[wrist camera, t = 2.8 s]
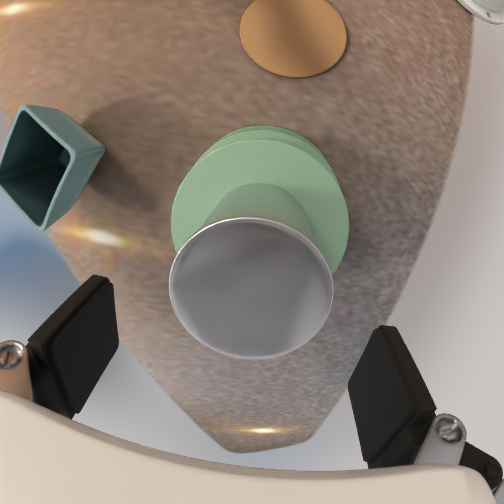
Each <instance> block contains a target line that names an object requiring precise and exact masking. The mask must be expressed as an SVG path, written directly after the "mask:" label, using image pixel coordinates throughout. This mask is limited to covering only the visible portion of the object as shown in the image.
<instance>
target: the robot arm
mask: <svg viewBox="0 0 504 504" xmlns="http://www.w3.org/2000/svg"><path fill="white" fill-rule="evenodd" d="M457 1H458V2H459V3H460V4H461V5H462V6H464V7H465V8H466V9H467V10H468V11H470V12H471V13H472V14H474V15H475V16H477V17H478V18H480V19H482V20H483V21H485V22H488V23H491V24H502V23H504V0H457ZM28 342H29V343H28V344H27V345H26V346H24V344H22V343H20V342H19V341H14V340H10V341H9V340H8V341H5V342H2V343H0V504H504V479H503V480H502V476H503V471H502V467H501V465H500V463H499V462H498V461H497V460H496V459H495V458H494V457H492V456H490V455H488V454H487V453H485V452H483V451H481V450H480V449H478V448H476V447H475V446H473V445H471V444H469V443H468V442H466V441H465V440H466V429H465V427H464V425H463V423H462V422H461V421H460V420H459V419H458V418H457V417H455V416H453V415H450V414H445V413H443V414H439V415H437V416H436V415H435V410H436V409H437V408H436V406H435V404H434V401H433V399H432V397H431V395H430V393H429V391H428V388H427V387H426V384H425V382H424V380H423V378H422V376H421V374H420V372H419V370H418V368H417V366H416V364H415V362H414V360H413V358H412V356H411V354H410V352H409V350H408V349H407V346H406V345H405V343H404V341H403V339H402V337H401V335H400V333H399V331H398V330H397V328H396V327H394V326H385V325H381V326H379V327H378V329H375V330H374V331H373V333H372V335H371V337H370V339H369V341H368V344H367V346H366V348H365V350H364V352H363V354H362V356H361V358H360V360H359V362H358V364H357V366H356V368H355V370H354V372H353V374H352V376H351V377H350V379H349V382H348V392H349V396H350V400H351V404H352V409H353V413H354V418H355V422H356V427H357V431H358V436H359V441H360V446H361V451H362V456H363V460H364V461H365V462H367V464H368V469H362V470H344V471H294V470H277V469H264V468H254V467H245V466H237V465H230V464H223V463H217V462H211V461H206V460H201V459H196V458H191V457H186V456H182V455H177V454H173V453H169V452H165V451H161V450H157V449H154V448H150V447H147V446H143V445H139V444H136V443H133V442H130V441H127V440H124V439H121V438H118V437H115V436H112V435H109V434H107V433H104V432H101V431H99V430H96V429H94V428H91V427H89V426H86V425H83V424H81V423H78V422H76V421H73V420H72V418H73V416H74V415H75V413H77V414H78V413H80V411H81V410H82V408H83V406H84V404H85V403H86V401H87V399H88V397H89V396H90V394H91V392H92V391H93V389H94V387H95V385H96V384H97V382H98V380H99V379H100V377H101V375H102V374H103V372H104V370H105V369H106V367H107V365H108V364H109V362H110V360H111V359H112V357H113V355H114V354H115V352H116V350H117V349H118V345H119V338H118V330H117V321H116V311H115V301H114V288H113V284H112V283H110V281H109V279H108V278H107V277H102V276H98V275H92V276H91V277H90V278H89V279H88V280H87V281H85V282H84V283H83V284H82V285H81V286H80V287H79V288H78V289H77V290H76V291H75V292H74V293H73V294H72V295H71V296H70V297H69V298H68V299H67V300H66V301H65V302H64V303H63V304H62V305H61V306H60V307H59V308H58V309H57V310H56V311H55V312H54V313H53V314H52V315H51V316H50V317H49V318H48V319H47V320H46V321H45V322H44V323H43V324H42V325H41V326H40V327H39V328H38V329H37V330H36V331H35V332H34V334H33V335H32V336H31V337H30V338H29V339H28Z"/></svg>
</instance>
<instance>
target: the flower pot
mask: <svg viewBox="0 0 504 504" xmlns="http://www.w3.org/2000/svg"><path fill="white" fill-rule="evenodd" d="M104 153H105V146H104V145H103V144H102V143H101V142H99V141H98V140H97V139H96V138H95V137H93V136H92V135H91V134H90V133H89V132H88V131H86V130H85V129H84V128H83V127H82V126H81V125H79V124H78V123H77V122H76V121H75V120H74V119H73V118H71V117H70V116H69V115H67V114H66V113H64V112H62V111H60V110H57V109H53V108H48V107H42V106H34V105H26V104H23V105H21V107H20V109H19V111H18V113H17V115H16V118H15V120H14V122H13V125H12V128H11V130H10V133H9V136H8V139H7V142H6V144H5V147H4V150H3V153H2V156H1V159H0V189H1V191H2V192H3V193H4V194H5V195H6V196H7V197H8V198H9V200H10V201H11V202H12V203H13V204H14V205H15V206H16V207H17V208H18V209H19V211H21V213H22V214H23V215H24V216H25V217H26V218H27V219H28V221H29V222H30V223H31V224H32V225H33V226H34V227H35V228H36V229H37V230H38V231H40V232H41V233H42V232H44V231H45V230H46V229H47V228H48V227H50V226H51V225H52V224H53V223H54V222H56V221H57V220H58V219H59V218H61V217H62V216H63V215H64V214H66V213H67V212H68V211H69V210H70V209H71V208H72V207H73V206H74V204H75V203H76V202H77V200H78V199H79V197H80V196H81V194H82V192H83V190H84V188H85V186H86V184H87V182H88V181H89V179H90V177H91V175H92V173H93V171H94V170H95V168H96V166H97V164H98V163H99V161H100V159H101V158H102V156H103V154H104Z"/></svg>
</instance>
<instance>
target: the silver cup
mask: <svg viewBox="0 0 504 504" xmlns="http://www.w3.org/2000/svg"><path fill="white" fill-rule="evenodd" d="M169 294H170V299H171V303H172V306H173V309H174V311H175V313H176V315H177V317H178V319H179V321H180V322H181V324H182V325H183V326H184V328H185V329H186V330H187V331H188V332H189V333H190V334H191V335H192V336H193V337H194V338H195V339H196V340H198V341H199V342H201V343H202V344H203V345H205V346H207V347H208V348H210V349H212V350H214V351H216V352H219V353H221V354H224V355H227V356H231V357H235V358H241V359H255V360H257V359H268V358H274V357H278V356H281V355H284V354H287V353H289V352H292V351H294V350H296V349H298V348H299V347H301V346H303V345H304V344H305V343H307V342H308V341H309V340H310V339H311V338H313V337H314V336H315V335H316V334H317V332H318V331H319V330H320V329H321V327H322V326H323V324H324V323H325V321H326V319H327V317H328V315H329V312H330V309H331V306H332V301H333V281H332V276H331V272H330V269H329V267H328V264H327V261H326V259H325V257H324V255H323V253H322V251H321V250H320V248H319V247H318V246H317V244H316V241H315V238H314V235H313V233H312V230H311V227H310V224H309V222H308V219H307V216H306V214H305V212H304V210H303V208H302V206H301V205H300V203H299V202H298V201H297V200H296V199H295V198H294V197H293V196H292V195H291V194H289V193H288V192H287V191H285V190H283V189H281V188H279V187H276V186H274V185H270V184H263V183H254V184H247V185H244V186H240V187H238V188H236V189H234V190H232V191H231V192H229V193H228V194H227V195H225V196H224V197H223V198H222V199H221V200H220V201H219V203H218V204H217V206H216V207H215V208H214V210H213V211H212V212H211V214H210V215H209V216H208V218H207V219H206V221H205V222H204V223H203V225H202V226H201V227H200V229H198V230H197V231H196V232H195V233H194V234H192V235H191V236H190V238H189V239H188V240H187V241H186V242H185V243H184V245H183V246H182V247H181V249H180V251H179V252H178V254H177V255H176V257H175V259H174V262H173V264H172V267H171V271H170V276H169Z"/></svg>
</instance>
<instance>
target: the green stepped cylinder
mask: <svg viewBox="0 0 504 504" xmlns="http://www.w3.org/2000/svg"><path fill="white" fill-rule="evenodd" d="M254 183H263V184H270V185H274V186H276V187H279V188H281V189H283V190H285V191H287V192H288V193H289V194H291V195H292V196H293V197H294V198H295V199H296V200H297V201H298V202H299V203H300V205H301V206H302V208H303V210H304V212H305V214H306V216H307V219H308V222H309V224H310V227H311V230H312V233H313V235H314V238H315V241H316V244H317V246H318V247H319V248H320V250H321V251H322V253H323V255H324V257H325V259H326V261H327V264H328V267H329V269H330V272H331V276H332V275H333V273H334V272H335V270H336V269H337V267H338V266H339V264H340V262H341V260H342V258H343V255H344V252H345V250H346V246H347V242H348V236H349V215H348V210H347V205H346V201H345V199H344V196H343V193H342V191H341V189H340V186H339V183H338V180H337V178H336V176H335V174H334V172H333V170H332V168H331V167H330V166H329V164H328V162H327V160H326V159H325V157H324V156H323V154H322V153H321V152H320V151H319V150H318V149H317V148H316V147H315V146H314V145H313V144H312V143H311V142H310V141H308V140H307V139H306V138H304V137H302V136H301V135H299V134H297V133H295V132H293V131H290V130H288V129H284V128H280V127H276V126H267V125H264V126H251V127H246V128H242V129H239V130H236V131H234V132H232V133H230V134H227V135H226V136H224V137H223V138H221V139H220V140H218V141H217V142H216V143H215V144H214V145H212V146H211V147H210V149H209V150H207V151H206V152H205V153H204V154H203V155H202V156H201V157H200V158H199V160H198V161H197V162H196V163H195V165H194V167H193V168H192V169H191V170H190V172H189V173H188V174H187V175H186V177H185V178H184V180H183V182H182V183H181V185H180V187H179V189H178V191H177V194H176V196H175V200H174V203H173V207H172V214H171V232H172V239H173V243H174V247H175V250H176V252H177V254H178V252H179V251H180V249H181V247H182V246H183V245H184V243H185V242H186V241H187V240H188V239H189V238H190V236H191V235H192V234H194V233H195V232H196V231H197V230H198V229H200V227H201V226H202V225H203V223H204V222H205V221H206V219H207V218H208V216H209V215H210V214H211V212H212V211H213V210H214V208H215V207H216V206H217V204H218V203H219V201H220V200H221V199H222V198H223V197H224V196H225V195H227V194H228V193H229V192H231V191H232V190H234V189H236V188H238V187H240V186H244V185H247V184H254Z"/></svg>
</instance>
